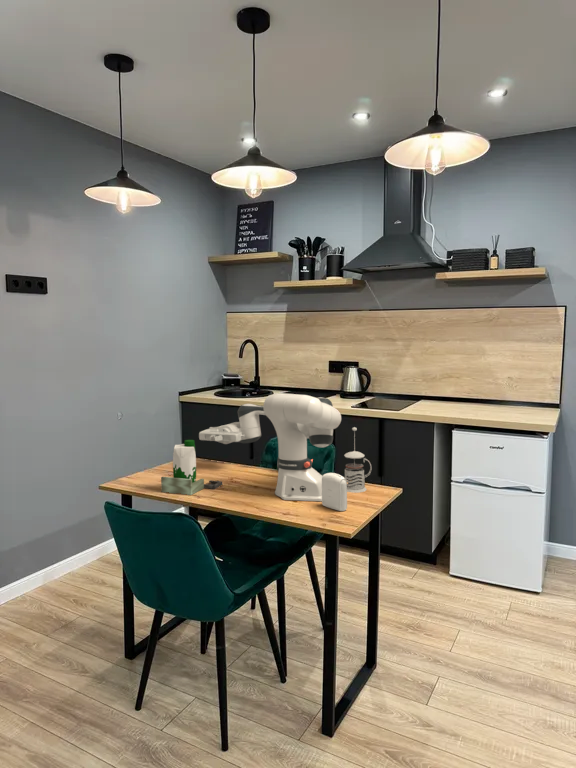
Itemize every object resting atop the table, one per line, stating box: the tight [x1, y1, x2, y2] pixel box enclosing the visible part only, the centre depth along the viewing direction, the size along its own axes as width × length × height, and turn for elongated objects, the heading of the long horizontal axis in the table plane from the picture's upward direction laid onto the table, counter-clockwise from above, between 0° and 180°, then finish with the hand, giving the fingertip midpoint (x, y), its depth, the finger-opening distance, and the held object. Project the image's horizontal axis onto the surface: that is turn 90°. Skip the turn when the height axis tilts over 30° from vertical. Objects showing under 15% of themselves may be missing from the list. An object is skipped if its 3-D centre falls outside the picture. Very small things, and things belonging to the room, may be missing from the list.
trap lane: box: [160, 476, 223, 496], centre depth 215 cm, size 23×17×6 cm
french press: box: [343, 426, 373, 494], centre depth 210 cm, size 10×12×25 cm
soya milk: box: [172, 439, 197, 483], centre depth 212 cm, size 9×9×20 cm
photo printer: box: [321, 472, 348, 512], centre depth 187 cm, size 10×4×12 cm, turn 39°
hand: (212, 439), depth 237 cm, fingers closed
